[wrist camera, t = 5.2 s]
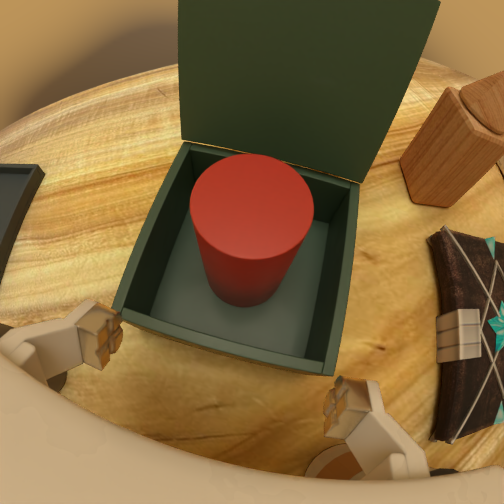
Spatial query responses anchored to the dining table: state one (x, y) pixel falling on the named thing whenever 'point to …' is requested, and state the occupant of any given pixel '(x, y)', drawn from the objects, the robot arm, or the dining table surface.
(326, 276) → the chest
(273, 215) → the red cylinder
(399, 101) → the chest lid
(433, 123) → the decorative item
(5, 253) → the tray
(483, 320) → the book
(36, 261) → the dining table surface
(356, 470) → the coffee cup
